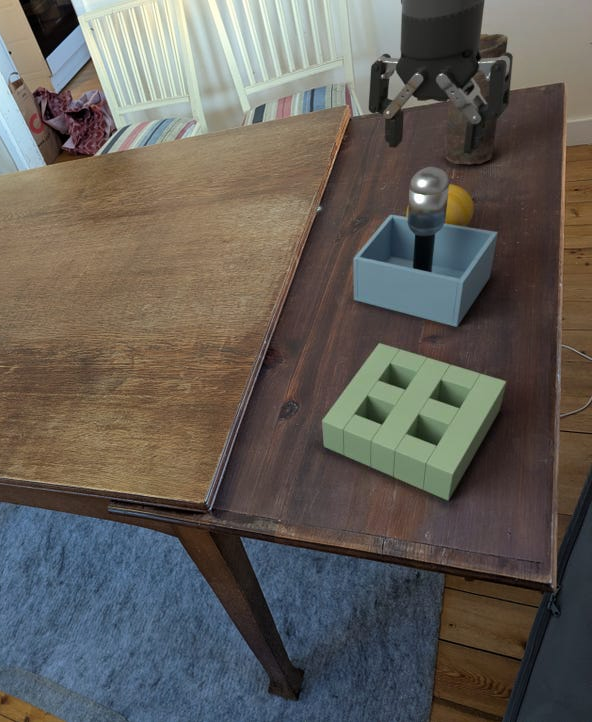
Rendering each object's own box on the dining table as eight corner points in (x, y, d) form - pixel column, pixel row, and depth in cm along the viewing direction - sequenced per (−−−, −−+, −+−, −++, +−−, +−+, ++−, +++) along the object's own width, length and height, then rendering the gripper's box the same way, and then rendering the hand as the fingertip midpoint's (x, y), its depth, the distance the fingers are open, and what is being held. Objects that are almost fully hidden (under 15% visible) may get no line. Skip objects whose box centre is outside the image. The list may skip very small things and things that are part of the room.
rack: (499, 410, 70) (506, 381, 67) (448, 501, 64) (453, 474, 61) (378, 370, 79) (379, 342, 75) (323, 446, 73) (321, 420, 70)
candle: (464, 175, 102) (479, 53, 89) (432, 161, 108) (442, 44, 95) (502, 157, 103) (523, 33, 90) (468, 144, 109) (483, 25, 95)
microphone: (443, 280, 86) (457, 162, 74) (430, 299, 84) (441, 181, 72) (411, 273, 89) (419, 158, 76) (398, 291, 87) (404, 176, 75)
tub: (490, 277, 85) (498, 232, 80) (456, 327, 80) (463, 282, 75) (388, 256, 94) (390, 214, 89) (353, 300, 89) (353, 258, 84)
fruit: (397, 245, 95) (400, 200, 89) (415, 216, 98) (418, 172, 93) (460, 254, 90) (466, 207, 84) (476, 223, 93) (483, 176, 88)
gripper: (536, -21, 59) (510, 136, 69) (389, -11, 68) (386, 128, 78) (507, 10, 56) (484, 170, 66) (357, 17, 65) (358, 157, 75)
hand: (431, 147), depth 72 cm, fingers open, 8 cm apart
